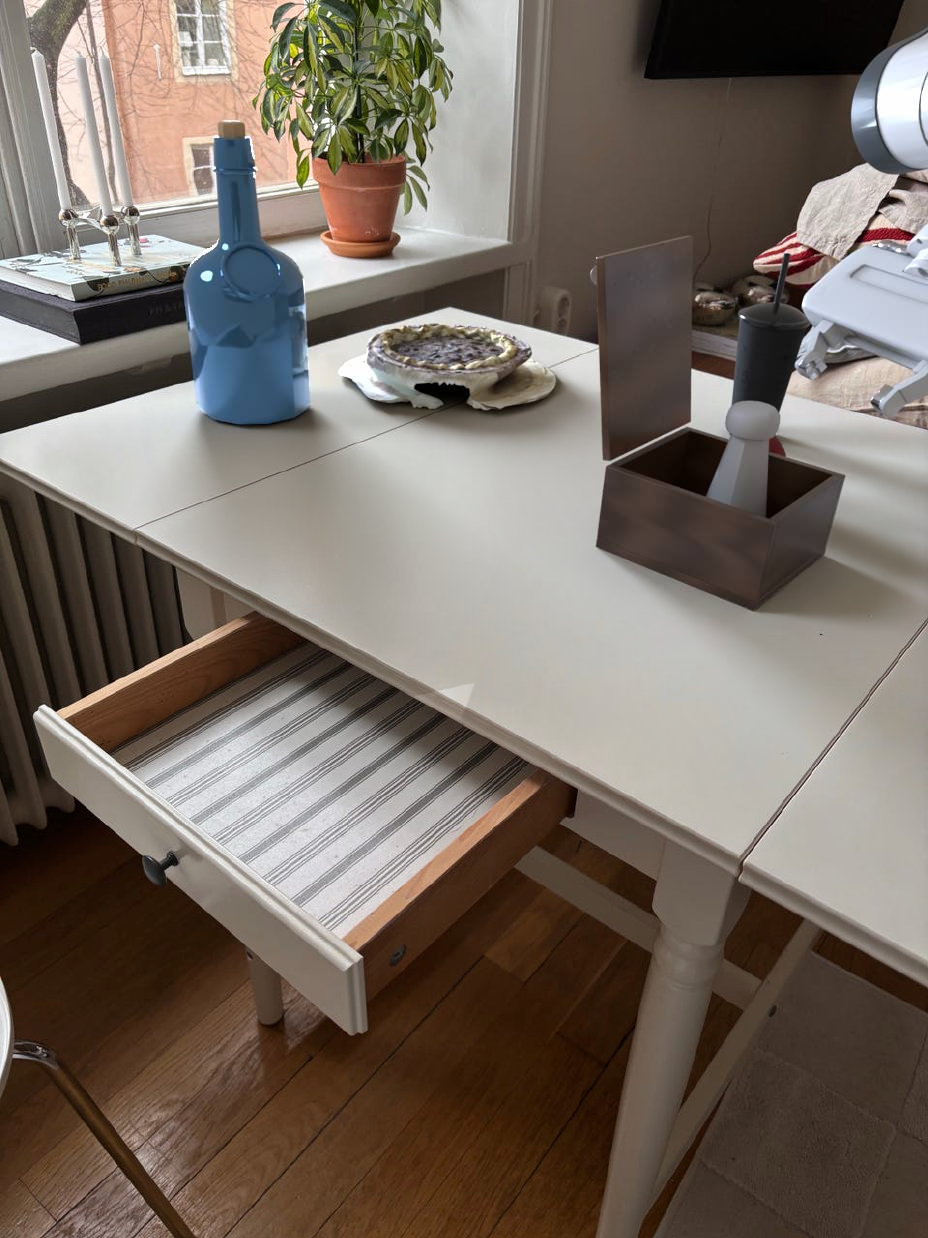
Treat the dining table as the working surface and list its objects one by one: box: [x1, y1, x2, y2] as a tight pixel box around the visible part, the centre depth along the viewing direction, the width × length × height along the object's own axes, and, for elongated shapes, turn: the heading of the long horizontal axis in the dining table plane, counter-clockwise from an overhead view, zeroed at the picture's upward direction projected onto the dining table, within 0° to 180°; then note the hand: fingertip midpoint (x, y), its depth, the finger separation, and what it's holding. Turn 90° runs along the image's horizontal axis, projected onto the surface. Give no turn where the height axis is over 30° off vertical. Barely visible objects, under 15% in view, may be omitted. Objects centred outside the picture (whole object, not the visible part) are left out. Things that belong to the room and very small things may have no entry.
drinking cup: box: [728, 252, 811, 436], centre depth 105 cm, size 8×8×20 cm
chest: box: [595, 426, 846, 612], centre depth 84 cm, size 16×14×8 cm
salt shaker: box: [706, 401, 781, 518], centre depth 82 cm, size 6×6×13 cm
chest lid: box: [590, 235, 693, 462], centre depth 83 cm, size 16×14×4 cm
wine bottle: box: [182, 119, 311, 425], centre depth 104 cm, size 14×13×30 cm
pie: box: [337, 322, 557, 411], centre depth 122 cm, size 28×27×5 cm
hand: (839, 391), depth 80 cm, fingers open, 8 cm apart
